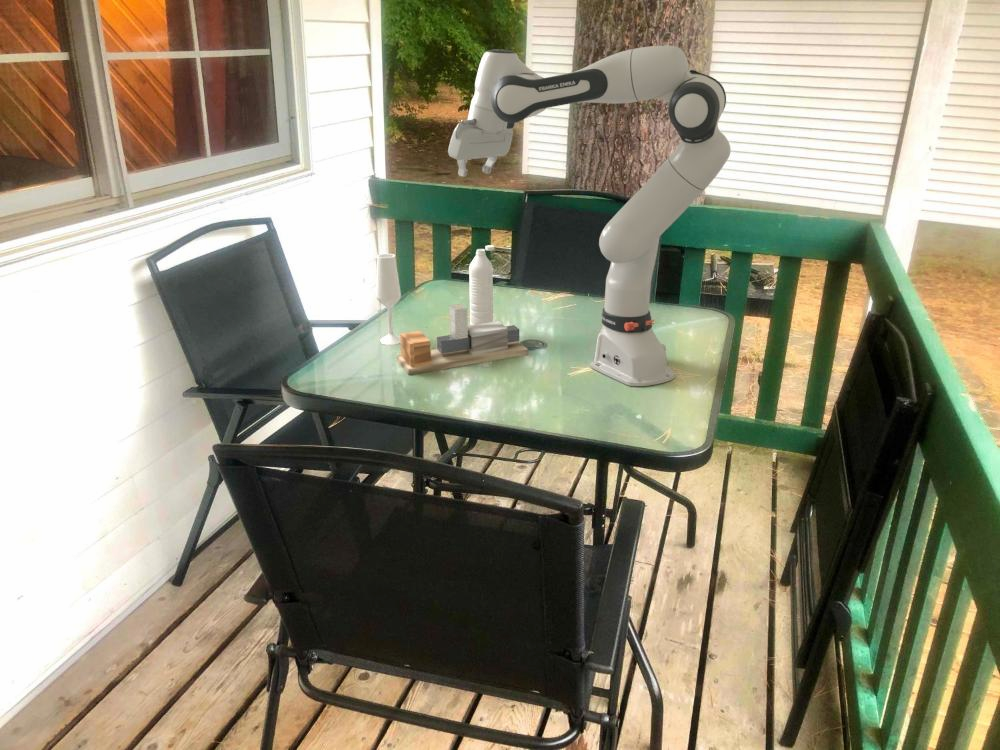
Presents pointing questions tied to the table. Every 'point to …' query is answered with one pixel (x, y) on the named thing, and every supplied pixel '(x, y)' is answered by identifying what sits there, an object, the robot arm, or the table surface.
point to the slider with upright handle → (464, 332)
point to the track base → (485, 346)
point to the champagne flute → (388, 291)
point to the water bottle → (481, 288)
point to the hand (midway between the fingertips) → (474, 174)
